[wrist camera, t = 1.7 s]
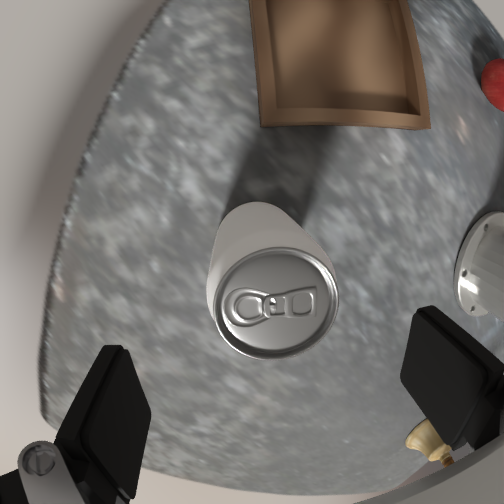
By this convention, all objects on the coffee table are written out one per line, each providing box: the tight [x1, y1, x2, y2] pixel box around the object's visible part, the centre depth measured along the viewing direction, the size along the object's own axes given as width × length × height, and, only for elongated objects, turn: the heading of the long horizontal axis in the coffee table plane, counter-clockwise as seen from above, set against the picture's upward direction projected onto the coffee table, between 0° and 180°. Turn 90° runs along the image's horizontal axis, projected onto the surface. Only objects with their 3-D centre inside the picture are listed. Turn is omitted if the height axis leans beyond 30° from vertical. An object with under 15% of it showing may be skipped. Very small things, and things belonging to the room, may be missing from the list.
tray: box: [249, 0, 431, 130], centre depth 19 cm, size 14×14×2 cm
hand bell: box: [406, 419, 455, 467], centre depth 27 cm, size 8×8×16 cm
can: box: [207, 202, 339, 361], centre depth 19 cm, size 6×6×12 cm
